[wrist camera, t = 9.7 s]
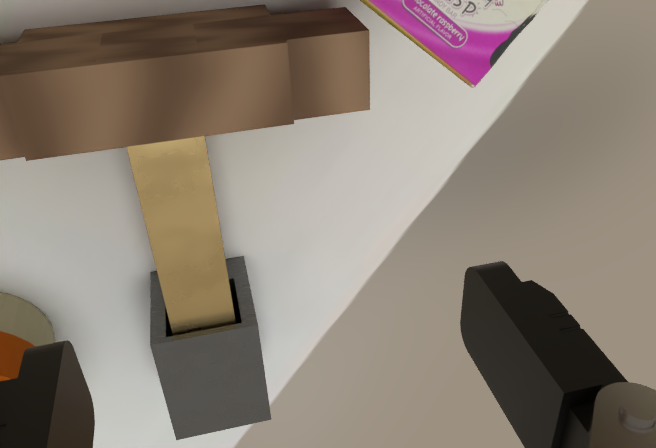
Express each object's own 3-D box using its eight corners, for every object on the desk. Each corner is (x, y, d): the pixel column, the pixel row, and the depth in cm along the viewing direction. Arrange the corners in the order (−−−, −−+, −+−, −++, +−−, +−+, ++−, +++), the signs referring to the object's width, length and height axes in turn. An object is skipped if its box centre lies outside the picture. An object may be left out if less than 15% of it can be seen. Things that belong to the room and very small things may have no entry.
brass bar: (179, 331, 47) (181, 371, 43) (114, 56, 35) (110, 81, 32) (235, 320, 48) (241, 359, 44) (189, 47, 36) (193, 71, 33)
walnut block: (-31, 112, 38) (-69, 173, 31) (-59, 38, 35) (-107, 88, 29) (338, 67, 42) (372, 113, 35) (335, -3, 39) (372, 32, 33)
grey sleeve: (173, 362, 52) (176, 439, 46) (150, 272, 47) (150, 345, 40) (256, 345, 53) (271, 419, 47) (243, 256, 48) (257, 324, 42)
